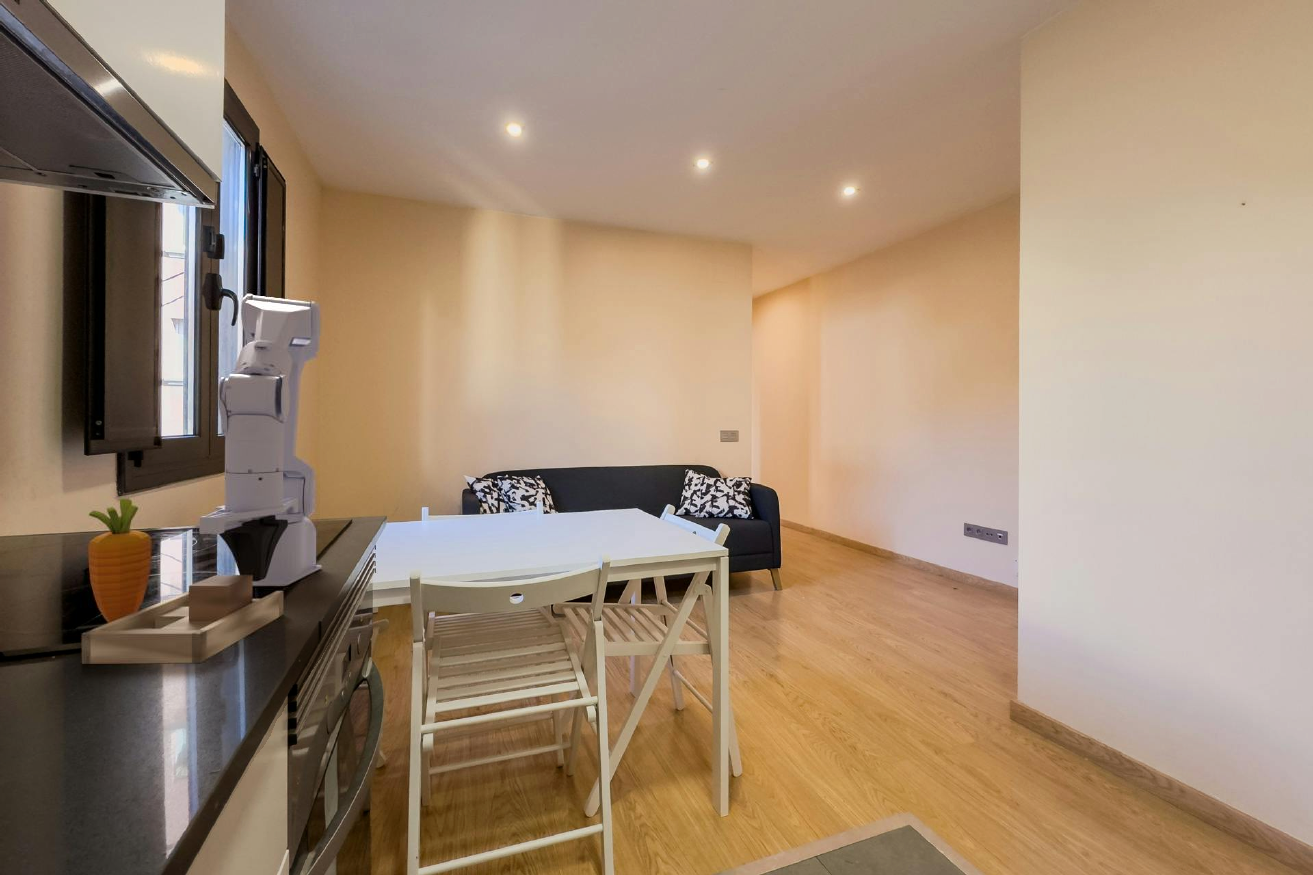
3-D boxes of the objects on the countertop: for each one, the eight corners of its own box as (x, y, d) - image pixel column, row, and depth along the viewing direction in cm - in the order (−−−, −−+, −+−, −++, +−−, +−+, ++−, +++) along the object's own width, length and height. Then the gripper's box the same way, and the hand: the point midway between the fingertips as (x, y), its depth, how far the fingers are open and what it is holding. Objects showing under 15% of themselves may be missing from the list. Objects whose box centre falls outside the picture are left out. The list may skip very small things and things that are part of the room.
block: (216, 608, 61) (216, 574, 61) (252, 608, 61) (252, 575, 61) (188, 621, 57) (188, 585, 57) (227, 621, 57) (227, 585, 57)
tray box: (189, 614, 64) (189, 590, 64) (283, 614, 65) (283, 590, 65) (81, 663, 51) (81, 633, 51) (200, 662, 52) (200, 633, 52)
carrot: (118, 641, 56) (118, 504, 56) (74, 639, 56) (74, 502, 56) (163, 623, 61) (163, 497, 61) (122, 621, 61) (122, 496, 61)
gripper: (260, 465, 71) (259, 563, 71) (170, 476, 56) (169, 599, 57) (314, 467, 71) (313, 563, 72) (238, 478, 57) (237, 599, 57)
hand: (253, 579), depth 64 cm, fingers closed
